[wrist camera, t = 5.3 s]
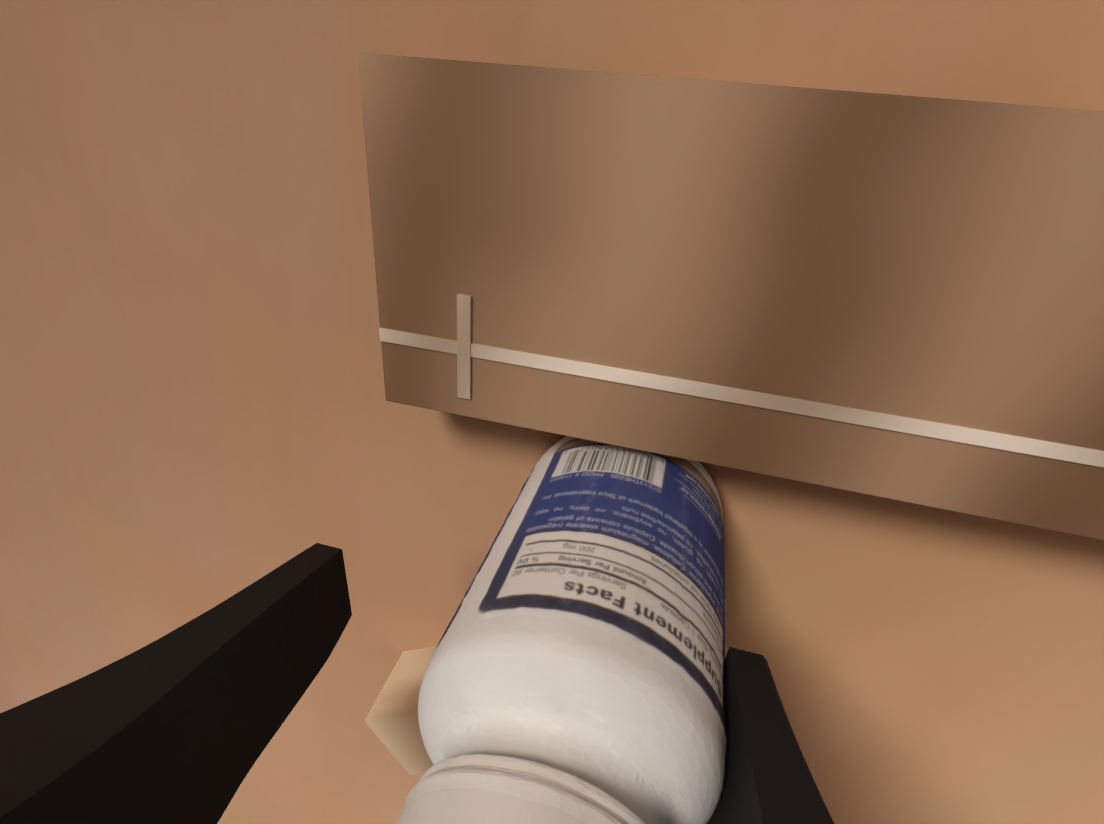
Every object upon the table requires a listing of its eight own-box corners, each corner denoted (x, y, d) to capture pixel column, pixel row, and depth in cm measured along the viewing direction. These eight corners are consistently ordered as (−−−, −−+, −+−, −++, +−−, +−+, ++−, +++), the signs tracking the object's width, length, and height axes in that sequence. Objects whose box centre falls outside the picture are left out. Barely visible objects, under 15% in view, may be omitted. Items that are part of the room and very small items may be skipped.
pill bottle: (628, 603, 17) (539, 1063, 9) (496, 492, 16) (266, 878, 8) (770, 515, 14) (836, 1067, 6) (618, 378, 14) (459, 785, 5)
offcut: (538, 625, 19) (512, 705, 16) (575, 684, 20) (556, 768, 17) (404, 648, 21) (364, 721, 19) (444, 699, 22) (410, 774, 20)
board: (1501, 150, 8) (1714, 159, 7) (1202, 509, 12) (1290, 578, 10) (410, 61, 11) (356, 52, 10) (422, 367, 15) (384, 401, 13)
